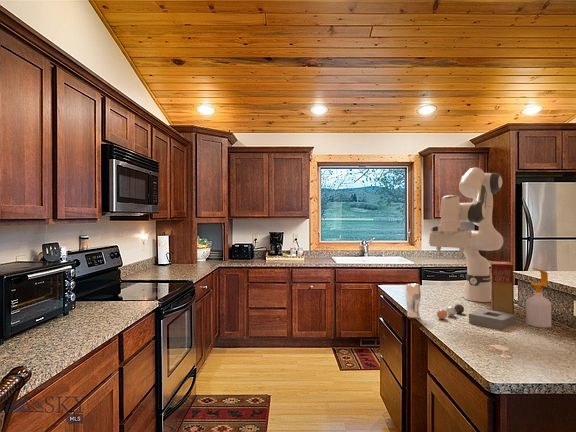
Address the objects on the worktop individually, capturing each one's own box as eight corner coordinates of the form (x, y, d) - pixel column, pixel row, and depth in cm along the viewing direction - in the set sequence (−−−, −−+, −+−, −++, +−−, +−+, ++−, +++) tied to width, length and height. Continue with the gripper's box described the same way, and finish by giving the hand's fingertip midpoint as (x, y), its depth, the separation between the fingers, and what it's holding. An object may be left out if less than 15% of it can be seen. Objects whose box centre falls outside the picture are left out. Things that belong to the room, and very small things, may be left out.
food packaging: (490, 311, 190) (490, 260, 190) (512, 313, 186) (512, 261, 186) (491, 317, 178) (491, 263, 178) (515, 319, 174) (514, 264, 174)
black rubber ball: (457, 311, 189) (456, 302, 189) (465, 313, 186) (465, 304, 186) (452, 313, 186) (452, 304, 186) (461, 315, 183) (461, 305, 183)
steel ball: (448, 314, 184) (448, 305, 184) (457, 316, 180) (457, 306, 181) (443, 316, 181) (443, 306, 181) (452, 317, 178) (452, 308, 178)
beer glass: (405, 317, 178) (405, 285, 179) (406, 314, 185) (405, 283, 185) (421, 319, 176) (420, 286, 176) (421, 315, 183) (421, 284, 183)
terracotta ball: (440, 317, 179) (439, 307, 179) (449, 319, 175) (448, 309, 175) (435, 318, 176) (434, 309, 176) (444, 320, 173) (443, 311, 173)
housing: (483, 317, 178) (483, 308, 178) (516, 323, 167) (516, 314, 167) (468, 322, 169) (468, 313, 169) (502, 329, 158) (502, 320, 158)
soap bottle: (521, 322, 169) (521, 266, 170) (542, 322, 169) (542, 266, 169) (534, 328, 160) (533, 269, 161) (556, 328, 160) (555, 269, 160)
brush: (480, 352, 134) (480, 346, 134) (495, 348, 138) (495, 342, 138) (507, 361, 126) (507, 354, 126) (522, 356, 130) (522, 349, 130)
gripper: (474, 228, 179) (474, 258, 178) (434, 228, 195) (434, 255, 194) (468, 228, 175) (468, 258, 175) (427, 227, 191) (427, 255, 190)
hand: (449, 256), depth 185 cm, fingers open, 8 cm apart
